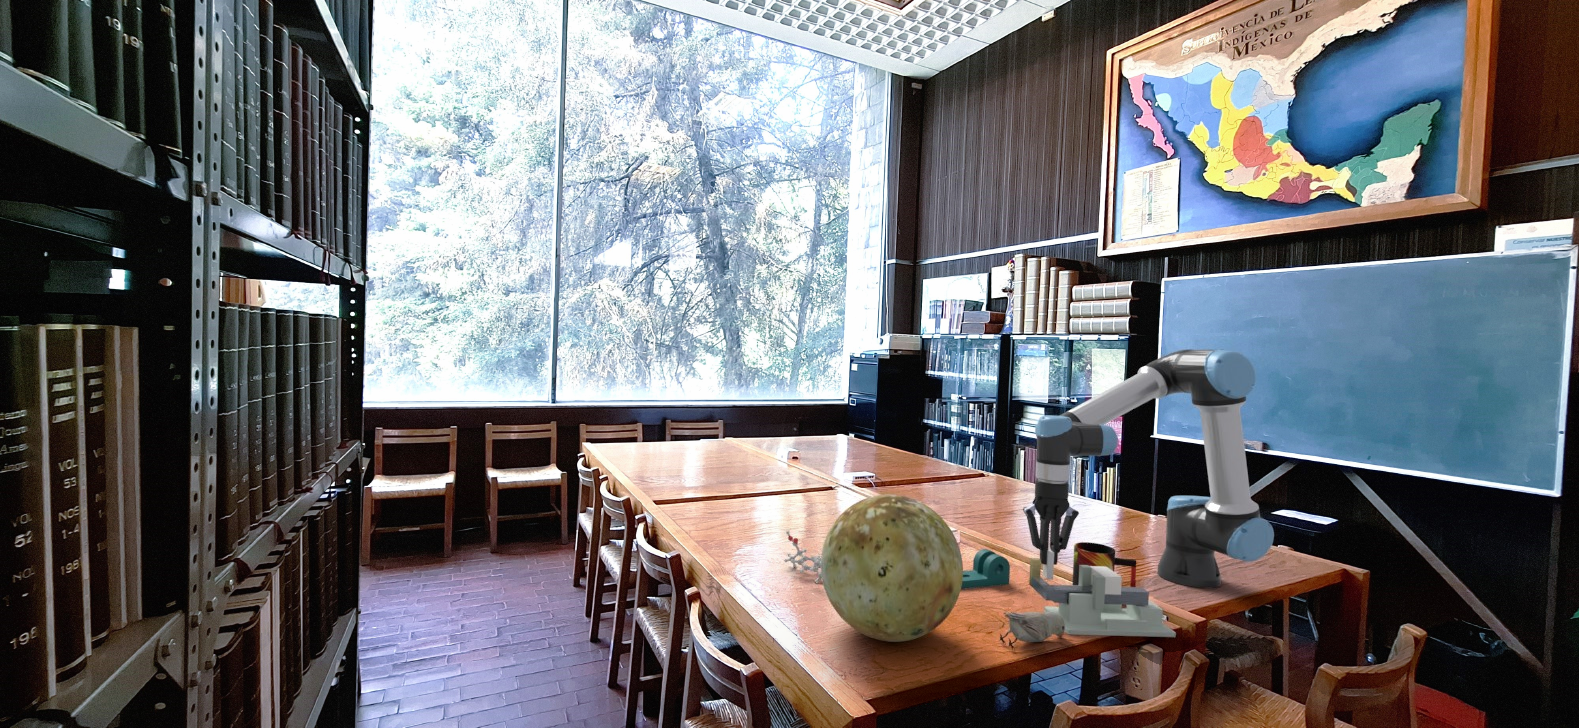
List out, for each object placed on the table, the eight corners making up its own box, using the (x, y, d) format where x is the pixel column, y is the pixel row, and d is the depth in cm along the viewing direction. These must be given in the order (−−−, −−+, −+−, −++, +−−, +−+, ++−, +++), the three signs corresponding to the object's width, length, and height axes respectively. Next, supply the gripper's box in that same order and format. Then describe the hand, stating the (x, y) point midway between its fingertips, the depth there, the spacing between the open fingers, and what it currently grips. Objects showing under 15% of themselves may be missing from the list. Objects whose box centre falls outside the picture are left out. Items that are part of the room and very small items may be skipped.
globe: (862, 680, 122) (867, 519, 121) (796, 617, 149) (800, 485, 148) (990, 654, 134) (996, 508, 133) (907, 600, 161) (912, 478, 160)
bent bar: (1125, 588, 160) (1126, 560, 160) (1148, 605, 150) (1149, 574, 150) (1029, 586, 160) (1030, 557, 159) (1045, 602, 150) (1047, 572, 149)
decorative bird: (1071, 643, 141) (1073, 608, 141) (1011, 654, 135) (1013, 618, 134) (1052, 632, 146) (1054, 599, 146) (994, 643, 140) (995, 608, 139)
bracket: (993, 576, 181) (994, 547, 181) (1009, 585, 175) (1010, 555, 175) (936, 581, 176) (937, 552, 175) (950, 590, 169) (951, 560, 169)
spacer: (1105, 583, 155) (1106, 566, 155) (1120, 594, 148) (1121, 576, 148) (1088, 582, 155) (1089, 566, 155) (1103, 594, 148) (1104, 576, 148)
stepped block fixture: (1143, 613, 158) (1145, 563, 158) (1175, 636, 145) (1178, 583, 145) (1043, 610, 158) (1046, 560, 157) (1067, 634, 145) (1070, 580, 144)
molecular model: (845, 585, 171) (845, 548, 170) (810, 593, 167) (810, 555, 166) (811, 559, 188) (811, 525, 187) (779, 566, 184) (778, 531, 183)
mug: (1136, 599, 167) (1138, 552, 167) (1087, 601, 164) (1089, 554, 164) (1111, 585, 176) (1113, 541, 176) (1064, 587, 174) (1066, 542, 173)
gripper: (1071, 477, 162) (1067, 572, 163) (1019, 476, 162) (1015, 571, 162) (1086, 484, 154) (1081, 583, 155) (1031, 482, 154) (1026, 582, 155)
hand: (1047, 577), depth 159 cm, fingers closed
